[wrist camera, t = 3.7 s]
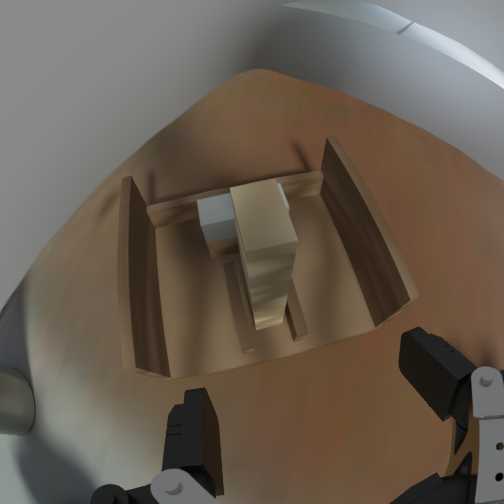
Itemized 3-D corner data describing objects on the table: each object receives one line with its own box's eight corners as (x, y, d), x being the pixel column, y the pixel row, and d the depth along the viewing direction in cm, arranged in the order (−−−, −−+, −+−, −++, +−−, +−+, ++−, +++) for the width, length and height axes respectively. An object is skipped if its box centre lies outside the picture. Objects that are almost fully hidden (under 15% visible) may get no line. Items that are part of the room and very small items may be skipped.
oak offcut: (211, 257, 30) (206, 243, 28) (207, 234, 32) (202, 218, 29) (285, 241, 31) (287, 225, 28) (278, 219, 32) (279, 202, 30)
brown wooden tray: (165, 380, 25) (123, 368, 17) (150, 229, 34) (122, 178, 26) (379, 327, 27) (420, 296, 19) (323, 192, 35) (335, 136, 27)
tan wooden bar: (255, 330, 26) (245, 252, 13) (246, 291, 28) (229, 187, 15) (281, 323, 26) (298, 240, 13) (271, 285, 28) (275, 178, 15)
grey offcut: (206, 243, 28) (200, 225, 25) (202, 218, 29) (196, 200, 26) (287, 225, 28) (289, 207, 26) (279, 202, 30) (280, 183, 27)
